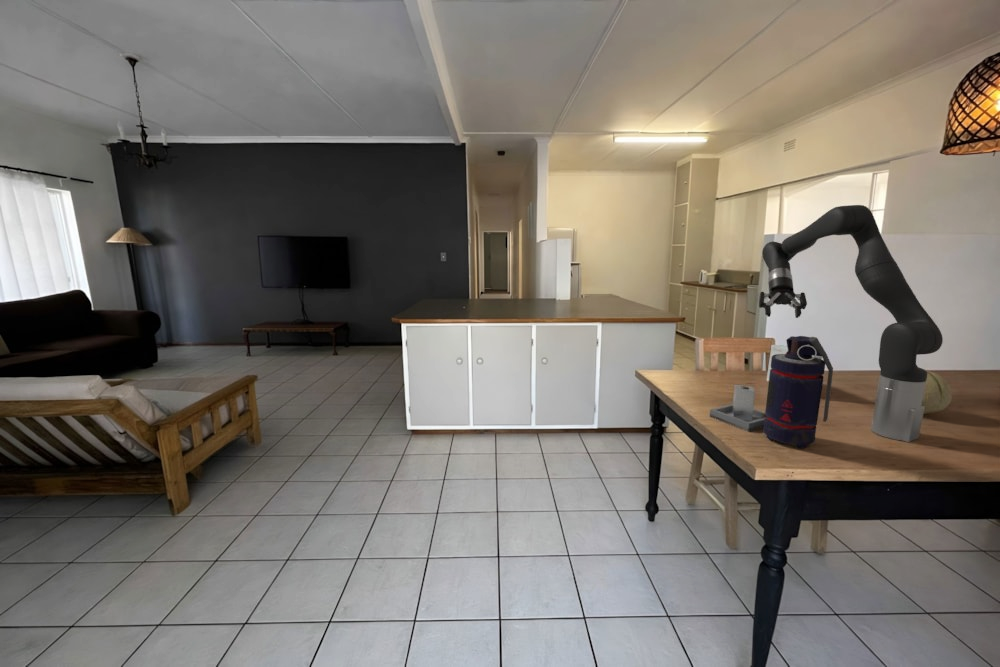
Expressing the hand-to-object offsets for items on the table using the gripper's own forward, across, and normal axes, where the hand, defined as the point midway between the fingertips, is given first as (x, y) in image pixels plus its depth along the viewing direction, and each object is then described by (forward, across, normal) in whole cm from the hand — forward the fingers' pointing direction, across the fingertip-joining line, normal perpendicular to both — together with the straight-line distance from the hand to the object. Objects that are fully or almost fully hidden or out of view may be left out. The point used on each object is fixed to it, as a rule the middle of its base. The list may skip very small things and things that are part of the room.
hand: (783, 315), depth 141 cm
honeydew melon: (+22, +39, +22) cm, 50 cm away
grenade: (+51, -2, -8) cm, 52 cm away
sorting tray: (+43, -14, 0) cm, 45 cm away
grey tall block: (+42, -14, 0) cm, 45 cm away
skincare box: (+12, +8, +31) cm, 35 cm away
